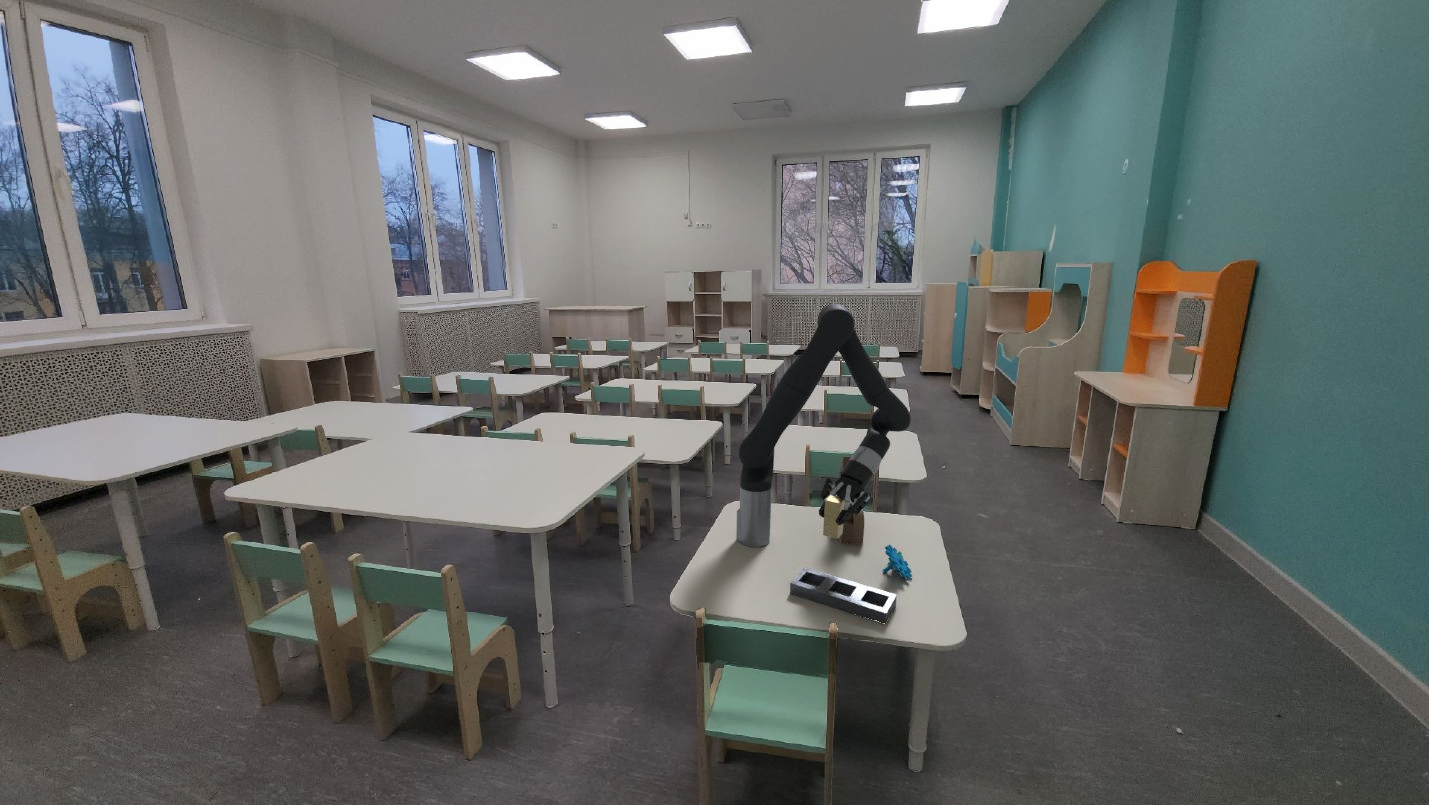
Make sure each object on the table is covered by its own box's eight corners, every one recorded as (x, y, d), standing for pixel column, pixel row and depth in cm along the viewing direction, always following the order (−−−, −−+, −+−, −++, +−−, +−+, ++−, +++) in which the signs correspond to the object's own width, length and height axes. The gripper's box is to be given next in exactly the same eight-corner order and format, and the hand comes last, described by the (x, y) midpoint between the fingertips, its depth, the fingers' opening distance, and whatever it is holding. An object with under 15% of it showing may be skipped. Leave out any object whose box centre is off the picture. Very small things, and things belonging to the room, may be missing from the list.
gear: (912, 582, 147) (886, 549, 150) (893, 594, 150) (868, 561, 152) (916, 567, 157) (892, 537, 160) (899, 578, 160) (875, 549, 162)
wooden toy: (864, 545, 170) (870, 465, 164) (841, 544, 170) (846, 464, 165) (853, 522, 185) (858, 448, 179) (832, 521, 185) (837, 447, 180)
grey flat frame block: (789, 593, 145) (790, 582, 144) (804, 577, 152) (804, 567, 152) (885, 624, 133) (886, 613, 132) (895, 605, 140) (896, 594, 139)
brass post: (822, 535, 152) (825, 500, 150) (828, 529, 155) (830, 494, 153) (837, 539, 150) (839, 503, 148) (842, 533, 153) (845, 498, 151)
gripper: (835, 452, 158) (802, 503, 154) (878, 467, 147) (845, 523, 143) (846, 466, 162) (814, 517, 158) (889, 482, 152) (857, 536, 147)
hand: (829, 519), depth 150 cm, fingers closed on brass post, 5 cm apart
